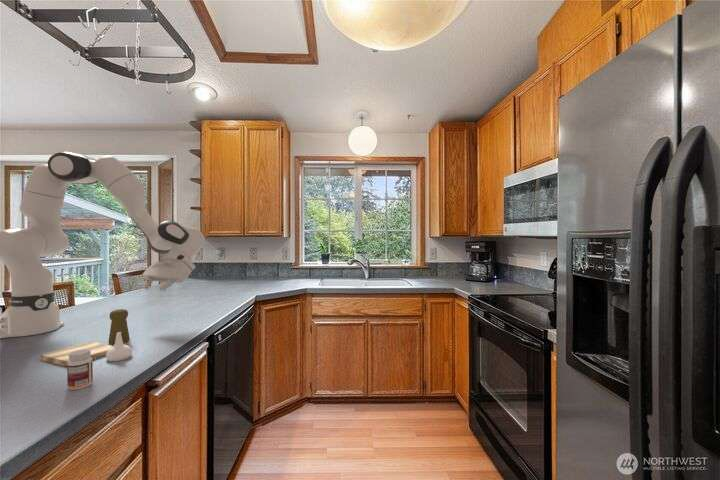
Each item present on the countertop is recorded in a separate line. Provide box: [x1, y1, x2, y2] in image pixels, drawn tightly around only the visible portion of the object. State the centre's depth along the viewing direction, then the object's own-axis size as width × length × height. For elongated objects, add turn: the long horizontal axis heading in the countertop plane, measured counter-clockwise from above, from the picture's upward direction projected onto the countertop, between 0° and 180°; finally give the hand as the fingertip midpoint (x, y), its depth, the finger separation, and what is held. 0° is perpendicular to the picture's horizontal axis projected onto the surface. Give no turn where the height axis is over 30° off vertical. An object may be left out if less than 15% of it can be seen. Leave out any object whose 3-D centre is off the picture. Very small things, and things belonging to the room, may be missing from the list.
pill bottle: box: [66, 349, 94, 391], centre depth 80 cm, size 5×5×8 cm
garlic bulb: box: [105, 332, 133, 362], centre depth 98 cm, size 6×6×8 cm
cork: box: [107, 308, 131, 345], centre depth 113 cm, size 6×6×11 cm
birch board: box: [40, 340, 114, 367], centre depth 100 cm, size 14×13×2 cm
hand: (153, 289), depth 124 cm, fingers open, 8 cm apart
